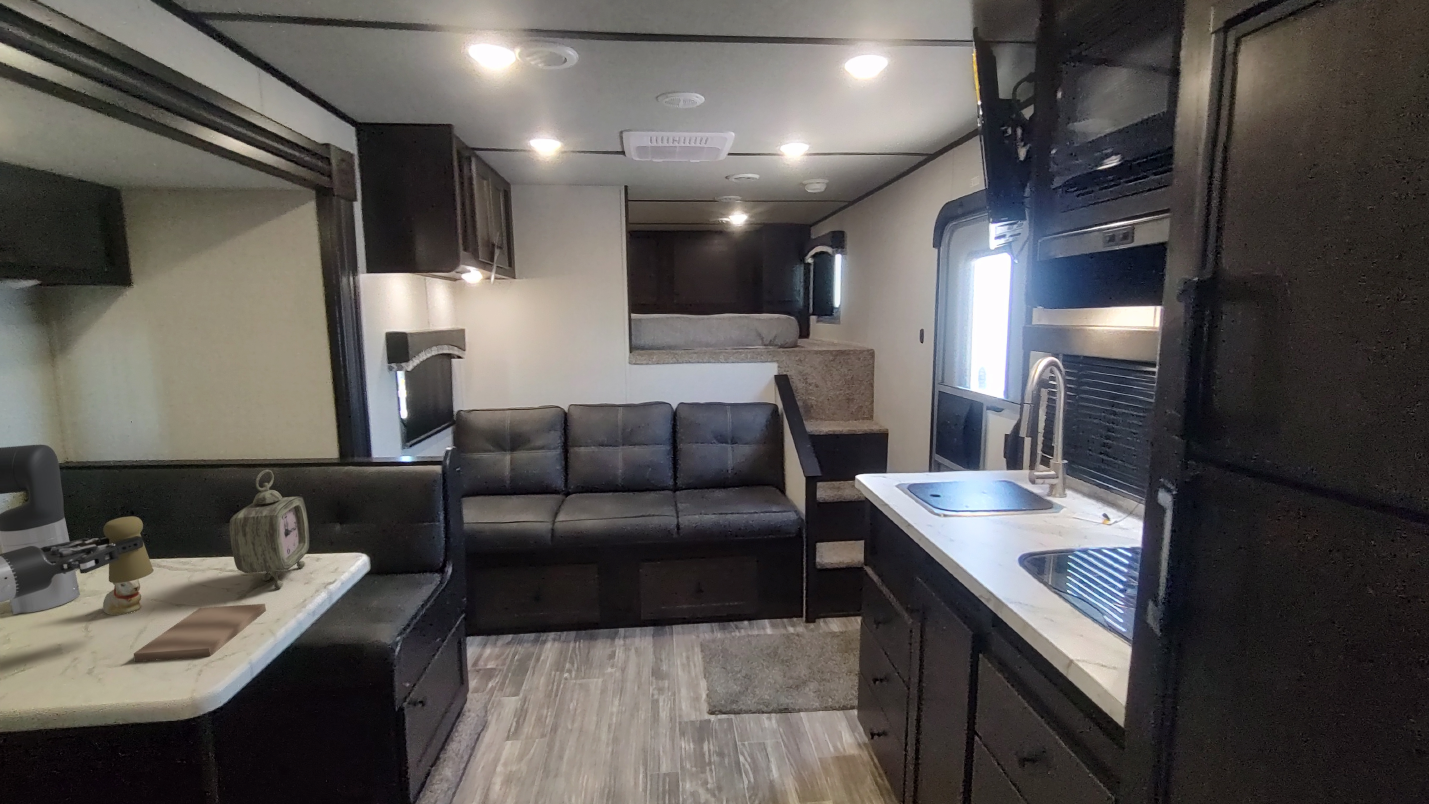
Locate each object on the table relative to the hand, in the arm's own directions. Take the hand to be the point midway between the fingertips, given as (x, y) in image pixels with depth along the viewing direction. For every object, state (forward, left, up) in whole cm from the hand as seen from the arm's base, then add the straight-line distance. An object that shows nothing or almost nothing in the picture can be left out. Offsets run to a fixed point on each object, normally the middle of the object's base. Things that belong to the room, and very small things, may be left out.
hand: (133, 539), depth 113 cm
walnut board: (+8, -10, -18) cm, 22 cm away
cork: (-1, -1, -7) cm, 7 cm away
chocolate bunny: (-4, +14, -18) cm, 24 cm away
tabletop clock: (+21, +9, -18) cm, 29 cm away
